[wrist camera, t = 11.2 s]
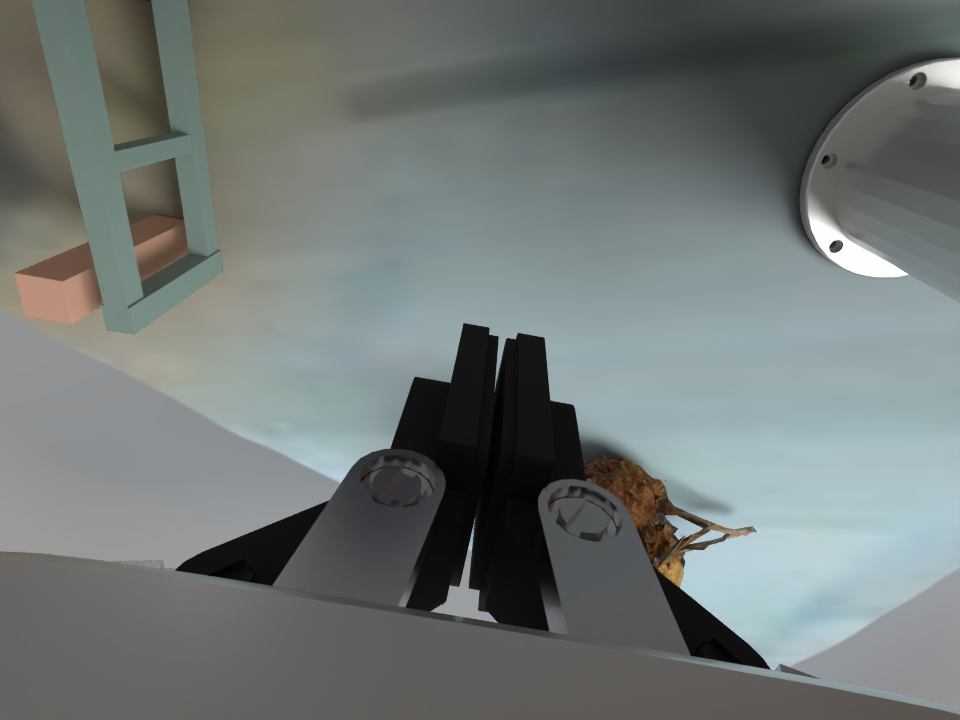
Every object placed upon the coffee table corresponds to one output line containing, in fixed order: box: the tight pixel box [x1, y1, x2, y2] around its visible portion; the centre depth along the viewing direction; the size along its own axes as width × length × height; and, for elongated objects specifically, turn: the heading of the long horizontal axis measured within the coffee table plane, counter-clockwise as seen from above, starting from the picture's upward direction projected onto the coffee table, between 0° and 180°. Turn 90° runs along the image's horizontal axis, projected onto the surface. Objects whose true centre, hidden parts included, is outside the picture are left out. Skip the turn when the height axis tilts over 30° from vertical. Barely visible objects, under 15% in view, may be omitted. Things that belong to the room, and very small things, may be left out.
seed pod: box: [584, 455, 756, 588], centre depth 43 cm, size 14×18×16 cm
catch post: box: [15, 215, 189, 324], centre depth 34 cm, size 2×2×12 cm
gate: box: [31, 0, 223, 334], centre depth 30 cm, size 18×2×11 cm, turn 174°
